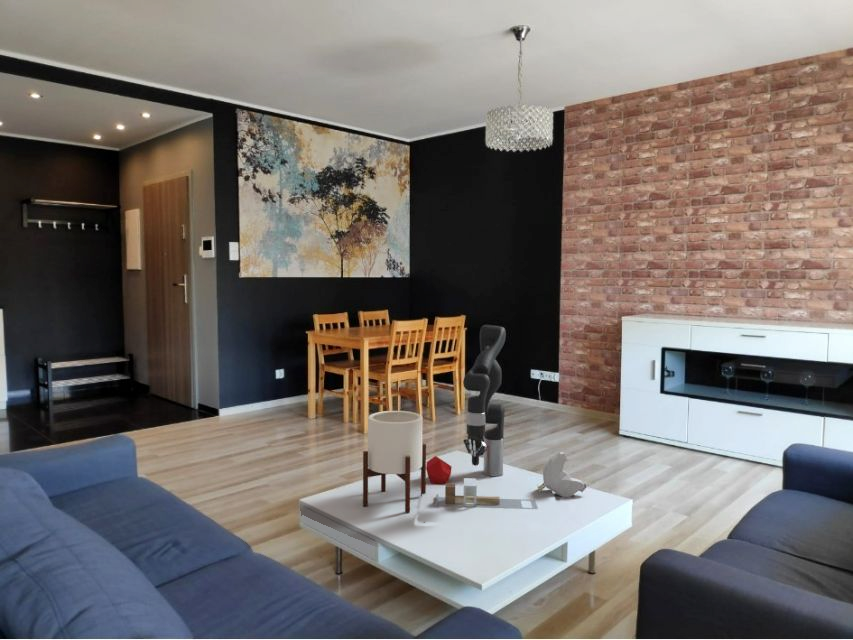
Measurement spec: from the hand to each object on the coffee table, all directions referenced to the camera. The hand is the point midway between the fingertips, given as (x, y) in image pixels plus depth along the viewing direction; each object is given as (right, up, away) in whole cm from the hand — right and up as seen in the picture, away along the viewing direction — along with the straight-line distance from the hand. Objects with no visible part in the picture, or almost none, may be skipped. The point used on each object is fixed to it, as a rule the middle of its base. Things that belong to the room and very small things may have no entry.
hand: (475, 464), depth 243 cm
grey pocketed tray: (+4, -17, +1) cm, 18 cm away
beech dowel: (+1, -16, +1) cm, 16 cm away
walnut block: (-10, -16, +2) cm, 19 cm away
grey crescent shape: (+39, -17, +15) cm, 45 cm away
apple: (-15, -15, +31) cm, 38 cm away
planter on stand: (-33, -17, +6) cm, 37 cm away
